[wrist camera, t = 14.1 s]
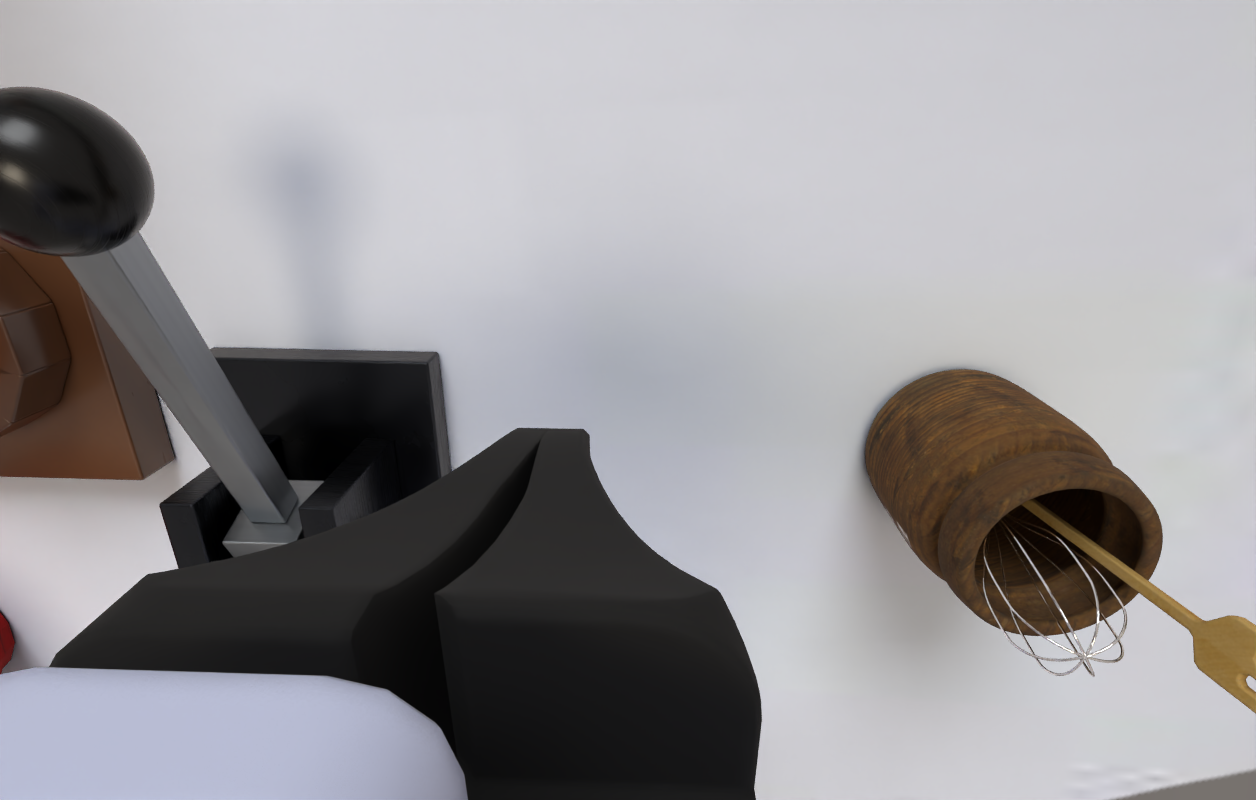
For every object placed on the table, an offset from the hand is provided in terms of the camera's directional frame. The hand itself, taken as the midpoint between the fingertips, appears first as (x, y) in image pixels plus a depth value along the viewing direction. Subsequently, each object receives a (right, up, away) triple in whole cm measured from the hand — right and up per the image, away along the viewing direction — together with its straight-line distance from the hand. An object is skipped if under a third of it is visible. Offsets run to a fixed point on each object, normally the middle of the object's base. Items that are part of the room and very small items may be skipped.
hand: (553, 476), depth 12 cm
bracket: (-9, -1, +12) cm, 15 cm away
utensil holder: (+13, 0, +11) cm, 17 cm away
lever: (-9, +2, +5) cm, 11 cm away
